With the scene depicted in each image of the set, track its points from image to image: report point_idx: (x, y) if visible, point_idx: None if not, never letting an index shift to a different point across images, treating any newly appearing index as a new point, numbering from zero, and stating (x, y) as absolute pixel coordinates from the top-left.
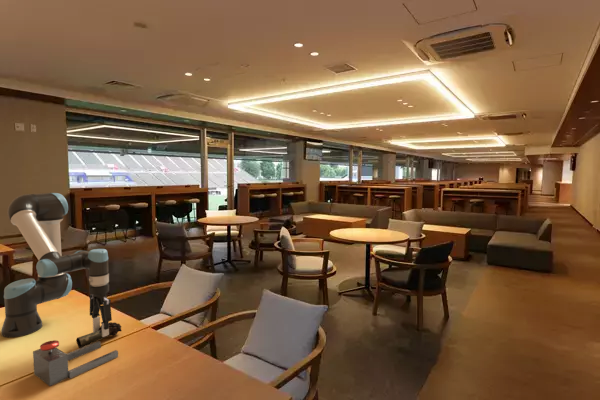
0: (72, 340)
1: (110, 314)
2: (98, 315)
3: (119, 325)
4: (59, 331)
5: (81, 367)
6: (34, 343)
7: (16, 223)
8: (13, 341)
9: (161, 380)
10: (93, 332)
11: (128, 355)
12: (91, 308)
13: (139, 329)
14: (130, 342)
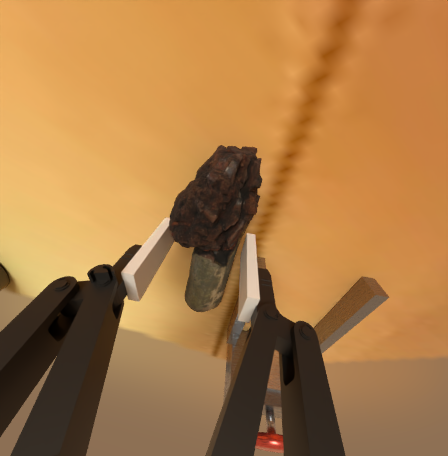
0: None
1: (328, 401)
2: (116, 283)
3: (245, 163)
4: (26, 230)
5: (325, 349)
6: None
7: None
8: (36, 293)
9: None
10: (204, 277)
11: (413, 265)
12: (40, 374)
13: (329, 12)
14: (366, 194)
